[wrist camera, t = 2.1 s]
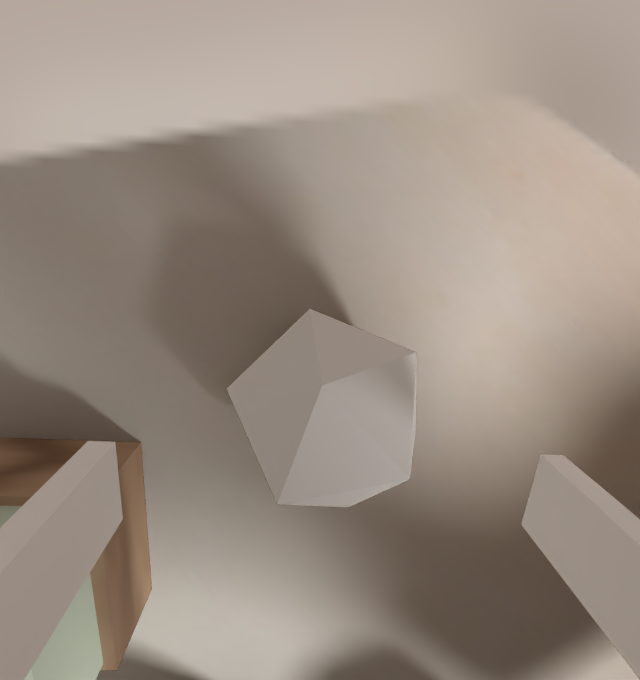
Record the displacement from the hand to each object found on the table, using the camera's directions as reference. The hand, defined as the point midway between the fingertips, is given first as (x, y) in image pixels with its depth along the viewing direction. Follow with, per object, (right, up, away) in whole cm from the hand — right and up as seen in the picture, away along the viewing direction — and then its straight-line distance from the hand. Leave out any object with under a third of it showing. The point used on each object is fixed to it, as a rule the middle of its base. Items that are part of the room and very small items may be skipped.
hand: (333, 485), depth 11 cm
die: (0, +2, +9) cm, 10 cm away
